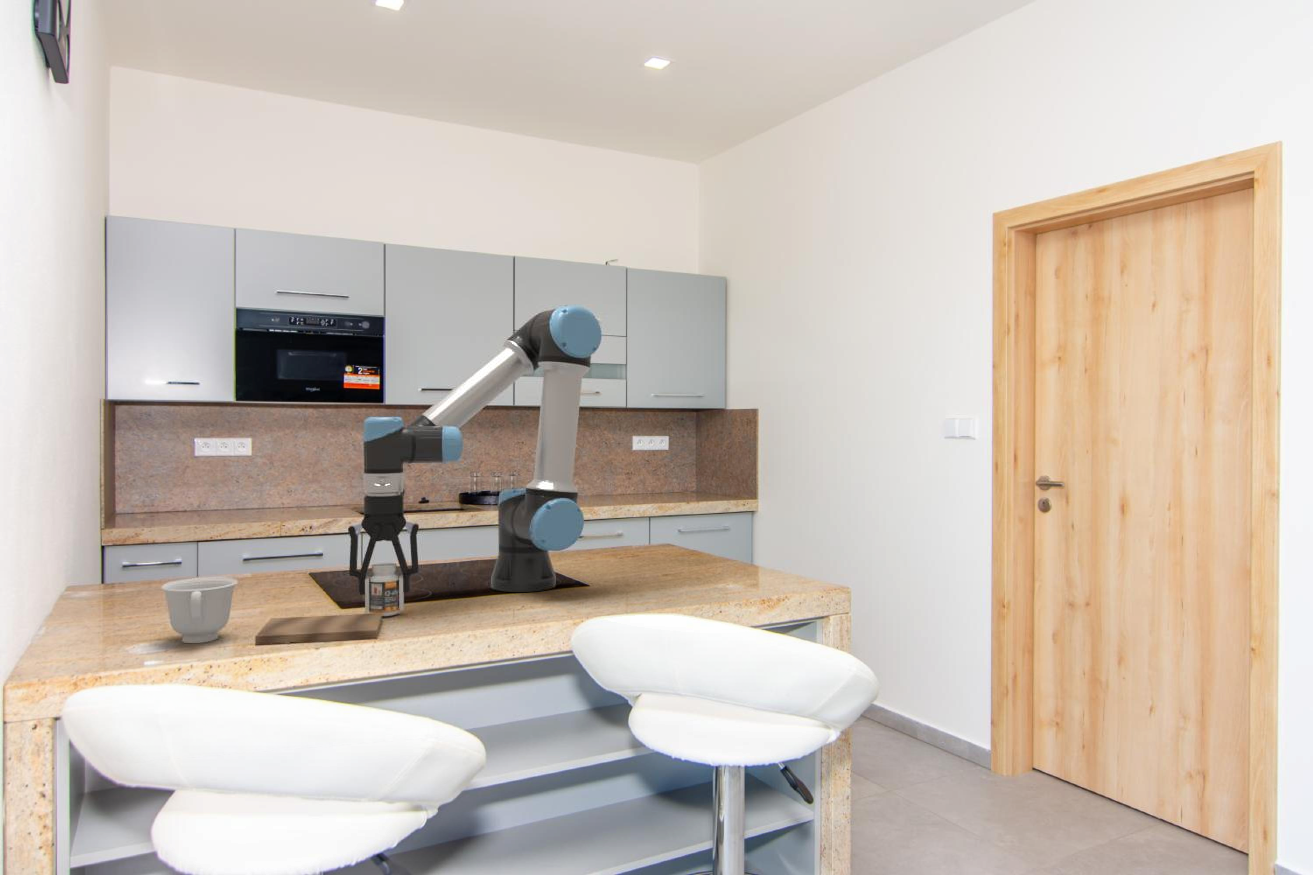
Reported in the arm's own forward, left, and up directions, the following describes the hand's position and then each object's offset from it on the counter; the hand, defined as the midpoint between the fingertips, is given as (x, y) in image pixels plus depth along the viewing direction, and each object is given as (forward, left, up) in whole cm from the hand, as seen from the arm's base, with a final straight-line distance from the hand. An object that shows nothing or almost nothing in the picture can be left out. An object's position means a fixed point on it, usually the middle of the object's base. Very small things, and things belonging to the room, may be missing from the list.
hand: (384, 609), depth 172 cm
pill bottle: (0, 0, -1) cm, 1 cm away
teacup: (+30, +14, -1) cm, 33 cm away
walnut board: (+10, +12, -1) cm, 16 cm away
